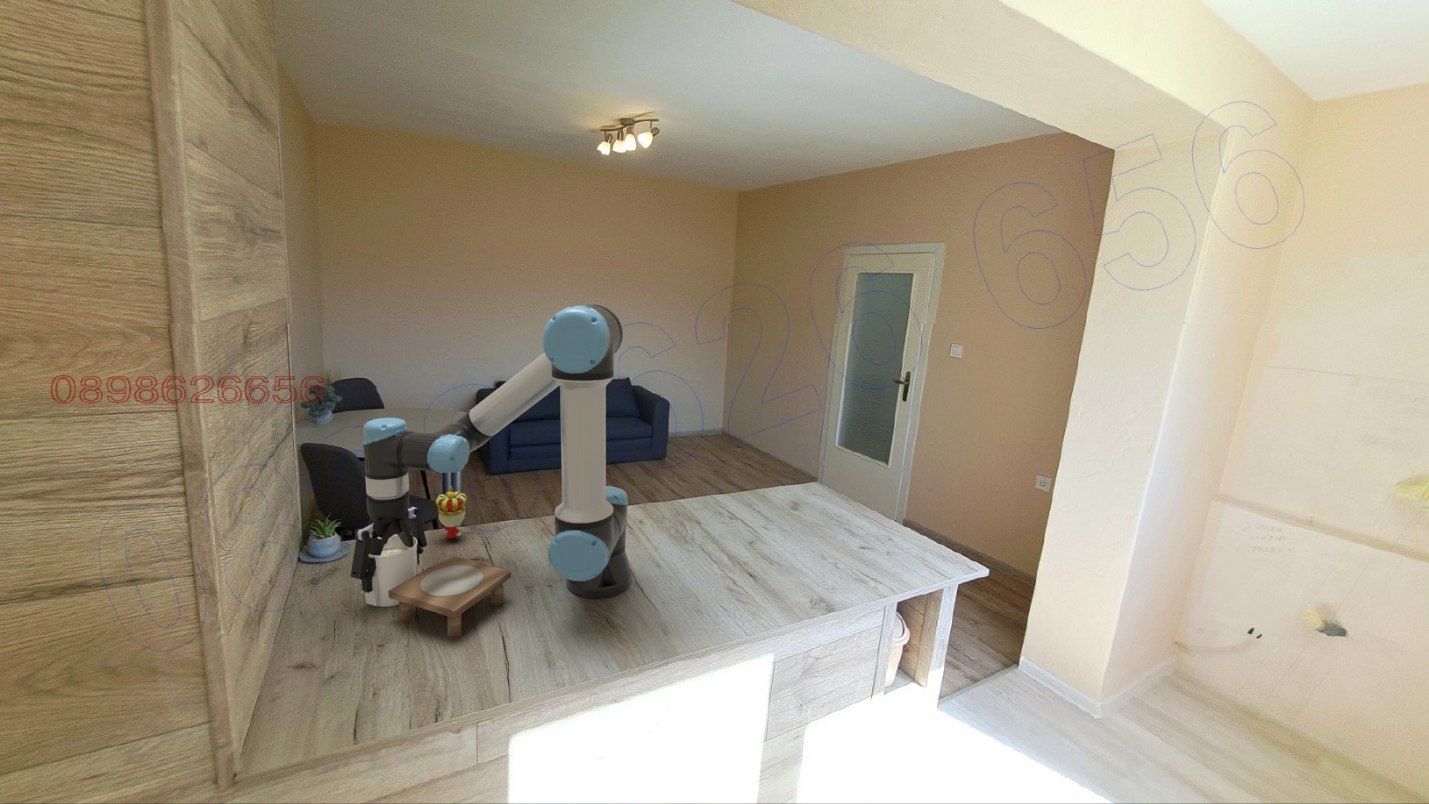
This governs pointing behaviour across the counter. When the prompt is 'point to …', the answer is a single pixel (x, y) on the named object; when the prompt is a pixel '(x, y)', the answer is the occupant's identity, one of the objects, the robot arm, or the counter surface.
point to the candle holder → (394, 567)
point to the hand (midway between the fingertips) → (392, 591)
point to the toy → (451, 513)
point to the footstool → (450, 590)
